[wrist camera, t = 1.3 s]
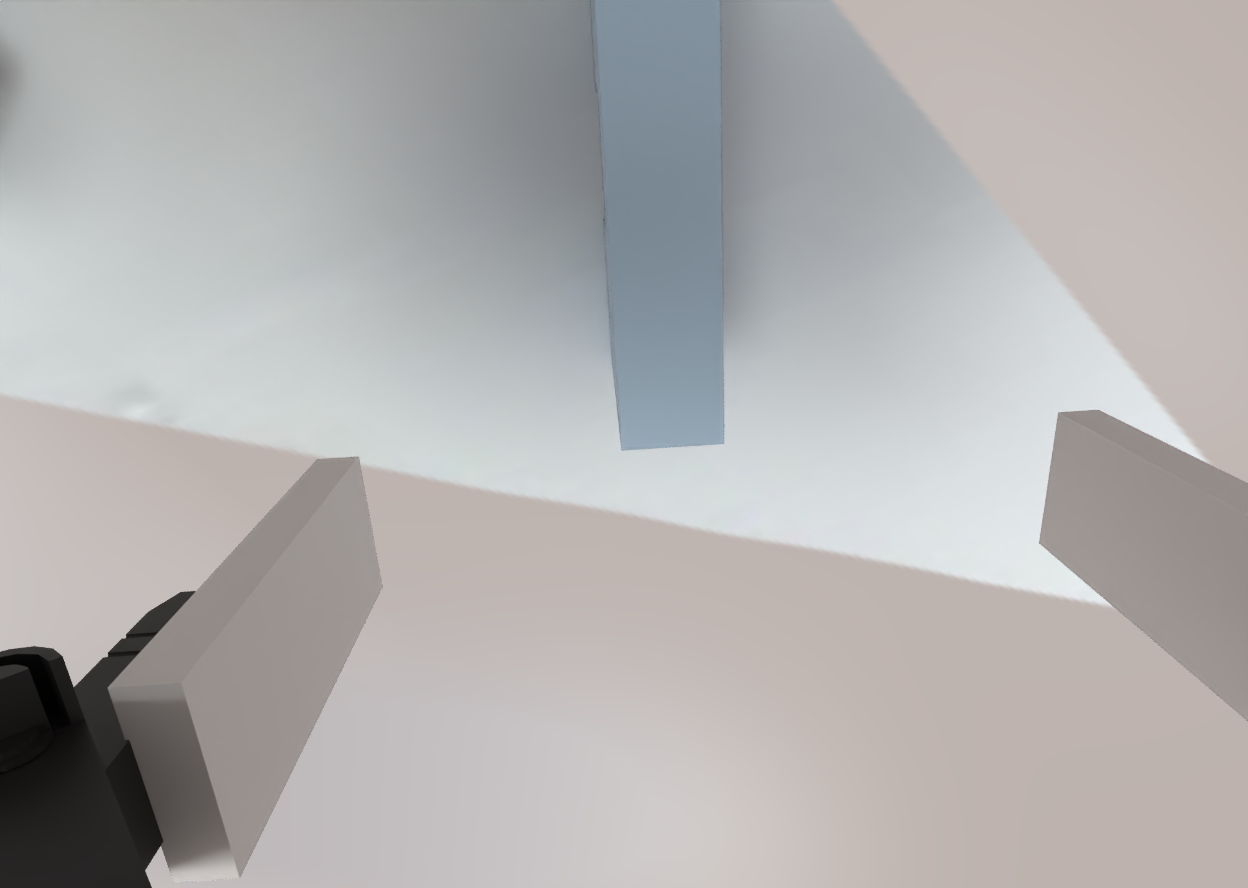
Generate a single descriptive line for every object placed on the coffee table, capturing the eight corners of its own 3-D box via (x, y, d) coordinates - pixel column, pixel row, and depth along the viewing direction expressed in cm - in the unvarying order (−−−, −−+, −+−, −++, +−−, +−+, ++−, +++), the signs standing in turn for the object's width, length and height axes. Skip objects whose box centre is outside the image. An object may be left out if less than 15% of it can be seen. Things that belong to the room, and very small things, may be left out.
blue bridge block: (584, -94, 26) (581, -231, 17) (672, -98, 26) (718, -238, 17) (612, 364, 32) (621, 450, 23) (684, 359, 32) (724, 444, 23)
